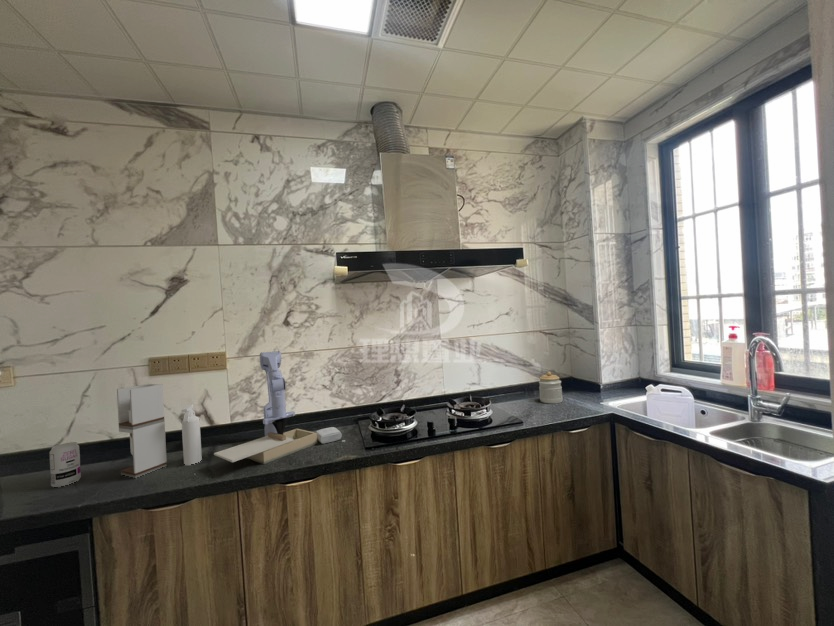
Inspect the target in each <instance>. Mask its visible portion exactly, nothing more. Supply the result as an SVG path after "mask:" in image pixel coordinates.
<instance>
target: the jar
mask: <svg viewBox="0 0 834 626" xmlns="http://www.w3.org/2000/svg"><path fill="white" fill-rule="evenodd" d="M539 379H540V380H538V383H539V387H538V390H539V401H540V402H541V403H544V404H560V403H562V402H563V401H564V398H563V389H562V388H563V387H562V380H561V379H560V377H559V376H558V375H557V374H552V372H551V371H548V372H546V374H543V375H541V376H540V377H539Z"/></svg>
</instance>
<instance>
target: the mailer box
mask: <svg viewBox="0 0 834 626" xmlns="http://www.w3.org/2000/svg"><path fill="white" fill-rule="evenodd" d="M283 435H285V436H286V437H288V438H292V439H293V441H291V442H288V443H285V444H283V445H280V446H277V447H274V448H272V449H269V450H266V451H263V452H260V453H258V454H255V455H252V456H249V457H246V458H245V459H249V460H251V461H253V462H256V463H259V464H262V465H266V464H269V463H272V462H274V461H277V460H279V459H282V458H284V457H287V456H289V455H292V454H294V453H298V452H300V451H302V450H305V449H308V448H310V447H313V446H314V445H317V444H318V440H317V433H316V431H315V432H314V431H309V430H306V429H301V428H294V429H292V430H288V431H284V433H283Z"/></svg>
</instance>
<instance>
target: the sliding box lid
mask: <svg viewBox="0 0 834 626" xmlns="http://www.w3.org/2000/svg"><path fill="white" fill-rule="evenodd" d="M291 441H293V439H292V438H288V437H286V436H285V435H281V434H277V433H273V432H269V433H268V436H265V435H264V436H262V437H259V438H256V439H253V440H250V441H247V442H245V443H241V444H238V445H235V446H232V447H229V448H228V447H227V448H226V449H223V450H220V451H217V452H214V453H213V455H214V456H216V457H218V458H220V459H223V460H226V461H227V462H230V463H235V462H237V461H240V460H243V459H247V458H246V457H249V456H252V455H255V454H258V453H260V452H263V451H266V450H269V449H272V448H274V447H277V446H280V445H283V444H285V443H288V442H291Z"/></svg>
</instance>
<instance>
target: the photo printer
mask: <svg viewBox="0 0 834 626" xmlns="http://www.w3.org/2000/svg"><path fill="white" fill-rule="evenodd" d="M315 433H317V442H319V443H320V444H328V443H332V442H336V441H339V440H342V437H343V436H342V435H343V434H342V433H341V431H340V430H339V429H338V428H336V426H335V427H334V426H331V427H326V428H321V429H318V430H316V431H315Z"/></svg>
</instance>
